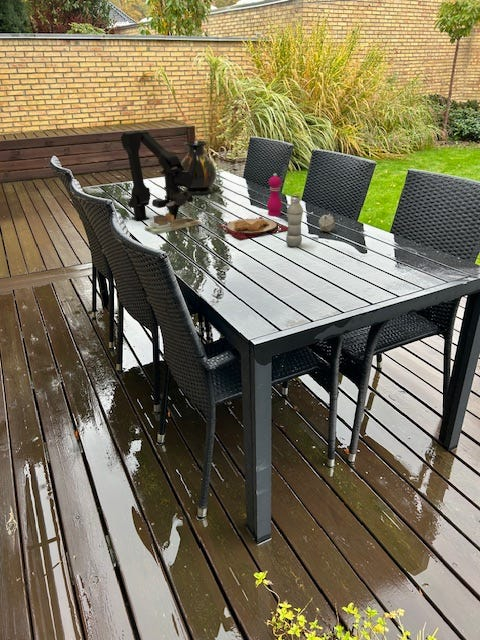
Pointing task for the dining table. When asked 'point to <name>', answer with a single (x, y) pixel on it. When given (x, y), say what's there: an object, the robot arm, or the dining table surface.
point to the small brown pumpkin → (326, 223)
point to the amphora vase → (199, 168)
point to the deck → (174, 225)
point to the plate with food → (251, 227)
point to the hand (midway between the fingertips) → (174, 219)
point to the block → (160, 220)
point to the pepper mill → (274, 196)
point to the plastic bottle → (294, 222)
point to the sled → (169, 219)
